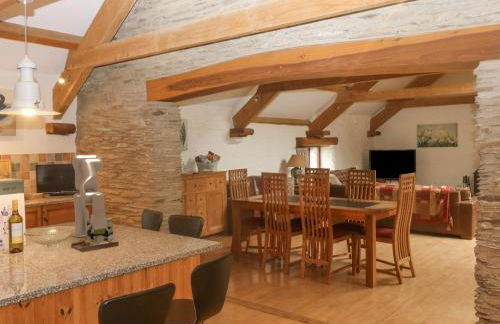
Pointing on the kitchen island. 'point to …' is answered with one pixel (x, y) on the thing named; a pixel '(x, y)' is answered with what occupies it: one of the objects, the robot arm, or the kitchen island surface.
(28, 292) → the kitchen island surface
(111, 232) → the tea box
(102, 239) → the panel
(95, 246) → the board
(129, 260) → the kitchen island surface
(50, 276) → the kitchen island surface
